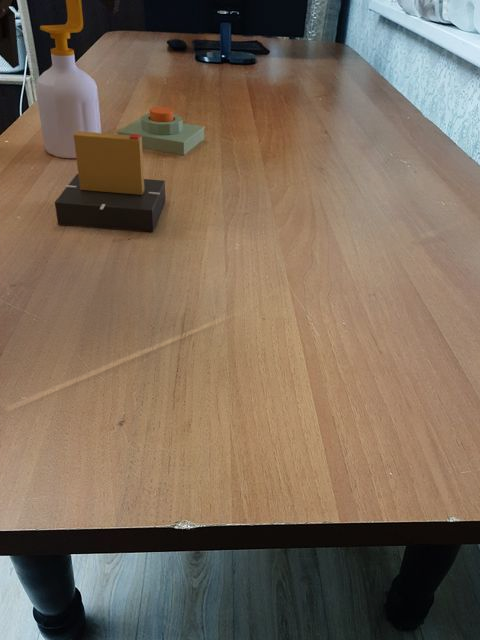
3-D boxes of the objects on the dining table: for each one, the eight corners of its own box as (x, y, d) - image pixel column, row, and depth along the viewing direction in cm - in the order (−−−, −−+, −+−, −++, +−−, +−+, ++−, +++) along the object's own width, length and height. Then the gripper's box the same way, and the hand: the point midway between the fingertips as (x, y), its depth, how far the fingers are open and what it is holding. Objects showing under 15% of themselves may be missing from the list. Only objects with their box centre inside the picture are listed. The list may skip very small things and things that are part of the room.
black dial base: (54, 228, 71) (50, 204, 69) (81, 191, 81) (78, 169, 79) (152, 236, 71) (151, 212, 69) (167, 198, 81) (166, 176, 79)
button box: (118, 144, 97) (116, 120, 95) (143, 129, 105) (142, 106, 103) (183, 155, 95) (183, 131, 93) (204, 139, 103) (204, 116, 101)
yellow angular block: (80, 190, 73) (73, 132, 69) (83, 185, 75) (76, 128, 70) (142, 195, 74) (139, 138, 69) (144, 190, 75) (141, 134, 70)
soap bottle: (35, 146, 93) (6, -33, 79) (86, 138, 99) (68, -32, 84) (61, 163, 88) (34, -25, 74) (113, 153, 94) (98, -24, 79)
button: (146, 121, 97) (145, 111, 96) (155, 116, 100) (155, 105, 99) (168, 125, 96) (167, 114, 95) (177, 119, 99) (176, 109, 98)
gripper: (-52, -110, 36) (-14, 110, 55) (211, -206, 46) (166, 7, 66) (-140, -198, 35) (-70, 54, 55) (145, -275, 46) (119, -40, 65)
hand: (59, 29), depth 60 cm, fingers open, 13 cm apart
